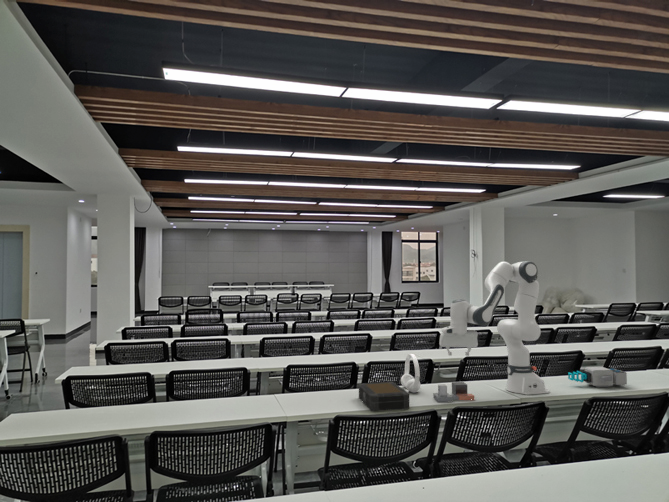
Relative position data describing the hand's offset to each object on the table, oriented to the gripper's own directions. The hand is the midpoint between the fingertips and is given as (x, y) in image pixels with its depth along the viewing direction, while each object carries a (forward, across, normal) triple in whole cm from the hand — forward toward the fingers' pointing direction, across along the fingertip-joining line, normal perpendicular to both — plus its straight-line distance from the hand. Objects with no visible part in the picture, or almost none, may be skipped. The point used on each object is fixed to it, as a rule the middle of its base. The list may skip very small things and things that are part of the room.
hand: (458, 355), depth 248 cm
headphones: (+22, +24, -11) cm, 34 cm away
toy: (+19, -84, -15) cm, 88 cm away
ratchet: (+21, +5, +9) cm, 24 cm away
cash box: (+22, +43, +14) cm, 50 cm away
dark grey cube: (+21, -1, 0) cm, 21 cm away
